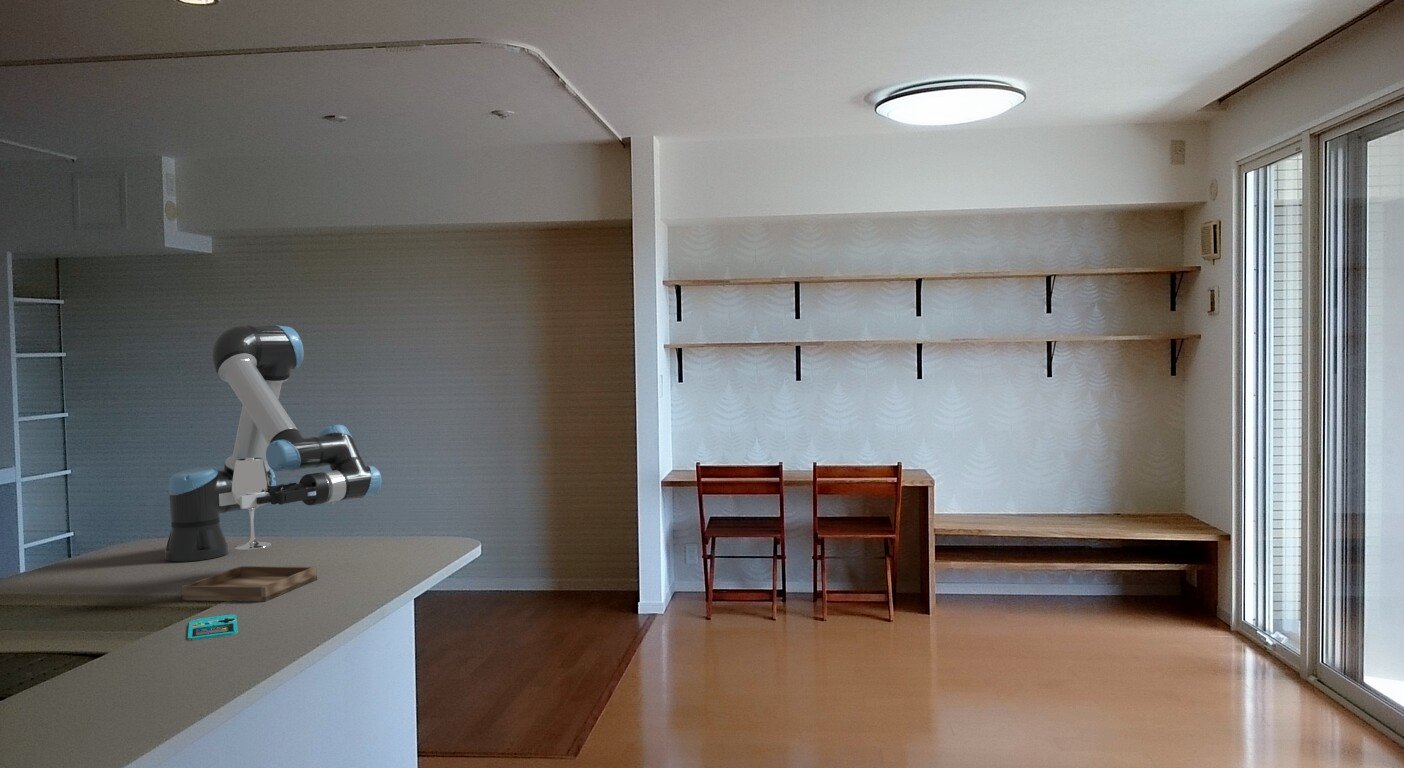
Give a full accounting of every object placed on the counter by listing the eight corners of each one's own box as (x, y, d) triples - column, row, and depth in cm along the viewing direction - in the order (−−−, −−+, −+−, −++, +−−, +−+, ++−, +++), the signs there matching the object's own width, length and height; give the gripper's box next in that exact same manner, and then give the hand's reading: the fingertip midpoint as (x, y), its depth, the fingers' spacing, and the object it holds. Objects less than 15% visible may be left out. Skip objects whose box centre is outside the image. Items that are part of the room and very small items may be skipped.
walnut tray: (240, 578, 233) (239, 566, 233) (317, 579, 230) (316, 567, 230) (182, 600, 214) (181, 586, 213) (265, 601, 210) (265, 587, 210)
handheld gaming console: (236, 612, 199) (237, 630, 185) (236, 617, 199) (237, 636, 185) (189, 618, 195) (187, 637, 182) (189, 623, 195) (187, 643, 182)
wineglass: (257, 550, 217) (253, 461, 217) (226, 550, 219) (222, 461, 218) (279, 543, 225) (275, 456, 224) (249, 543, 226) (245, 457, 226)
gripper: (348, 506, 231) (257, 521, 212) (296, 500, 242) (206, 514, 223) (347, 474, 230) (256, 487, 212) (295, 470, 242) (204, 481, 223)
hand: (230, 501), depth 218 cm, fingers closed on wineglass, 8 cm apart
